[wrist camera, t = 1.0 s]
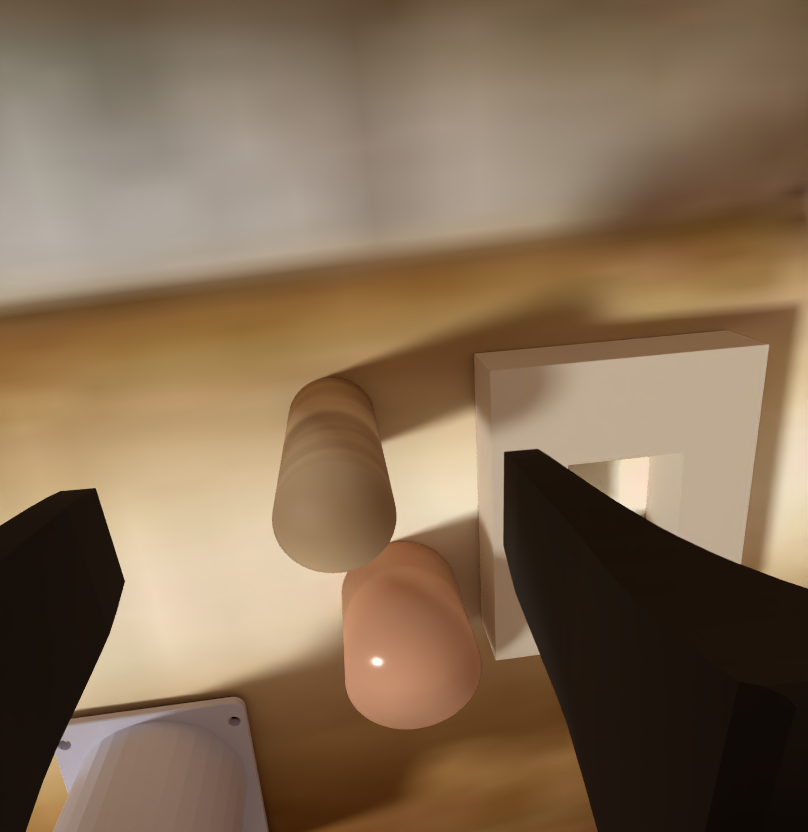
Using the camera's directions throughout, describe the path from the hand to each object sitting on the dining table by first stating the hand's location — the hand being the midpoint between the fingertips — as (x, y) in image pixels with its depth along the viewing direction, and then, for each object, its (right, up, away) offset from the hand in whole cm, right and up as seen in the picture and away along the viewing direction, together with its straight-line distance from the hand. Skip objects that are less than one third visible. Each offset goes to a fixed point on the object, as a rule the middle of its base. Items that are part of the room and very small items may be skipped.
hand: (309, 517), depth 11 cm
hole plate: (+10, -1, +15) cm, 18 cm away
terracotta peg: (+1, -6, +16) cm, 17 cm away
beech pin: (-1, +2, +13) cm, 13 cm away
